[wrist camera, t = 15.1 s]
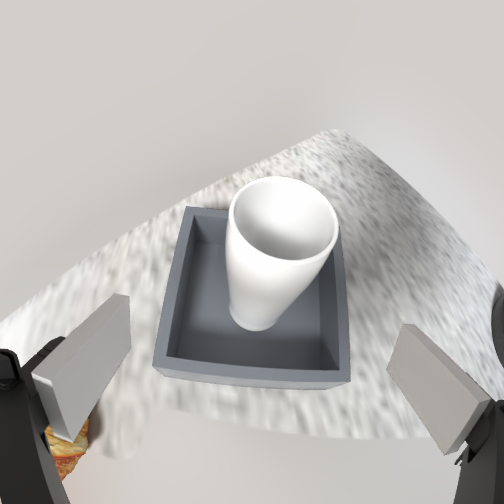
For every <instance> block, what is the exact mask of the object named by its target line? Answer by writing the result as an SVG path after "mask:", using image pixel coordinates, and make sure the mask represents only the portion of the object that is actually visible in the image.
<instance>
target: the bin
mask: <svg viewBox="0 0 504 504" xmlns="http://www.w3.org/2000/svg"><path fill="white" fill-rule="evenodd" d="M228 214H229V211H226V210H218V209H208V208H199V207H189V206H186V209H185V212H184V216H183V220H182V224H181V228H180V232H179V236H178V240H177V244H176V248H175V252H174V257H173V261H172V265H171V270H170V274H169V279H168V283H167V288H166V293H165V298H164V302H163V307H162V313H161V318H160V323H159V328H158V334H157V340H156V345H155V351H154V357H153V364H152V366H153V367H154V368H155V369H156V370H158V371H159V372H160V373H161V374H163V375H164V376H166V377H172V378H178V379H184V380H191V381H198V382H206V383H214V384H223V385H233V386H244V387H257V388H274V389H304V390H326V389H330V388H333V387H336V386H339V385H342V384H345V383H348V382H351V380H350V342H349V322H348V307H347V293H346V282H345V271H344V261H343V252H342V243H341V235H340V227H339V232H338V237H337V240H336V243H335V245H334V247H333V248H332V251H331V252H330V254H329V256H328V258H327V260H326V262H325V263H324V265H323V267H322V268H321V270H320V271H319V273H318V274H317V276H316V277H315V278H314V280H313V281H312V282H311V284H310V285H309V286H308V287H307V288H306V289H305V290H304V291H303V293H302V294H301V295H300V296H299V297H298V298H297V299H296V300H295V301H294V302H293V303H292V304H291V305H290V306H289V308H288V309H287V310H286V311H285V312H284V313H283V314H282V315H281V316H280V318H279V320H278V321H277V322H276V323H275V324H274V325H273V326H272V327H270V328H268V329H266V330H263V331H250V330H246V329H244V328H242V327H241V326H239V325H238V324H237V323H236V322H235V321H234V320H233V318H232V316H231V314H230V311H229V290H228V280H227V270H226V259H225V237H226V227H227V220H228Z"/></svg>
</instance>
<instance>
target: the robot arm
mask: <svg viewBox="0 0 504 504" xmlns="http://www.w3.org/2000/svg"><path fill="white" fill-rule="evenodd" d="M492 332H493V339H494V344H495V348H496V351H497V354H498V357H499V359H500V362H501V364H502V366H503V367H504V294H503V295H502V296H500V297H499V298H498V300H497V301H496V303H495V306H494V309H493V315H492ZM130 349H131V332H130V305H129V296H125V295H119V294H113V295H112V296H111V297H110V298H109V299H108V300H107V301H106V302H104V303H103V304H102V305H101V306H100V307H99V308H98V309H97V310H96V311H95V312H93V313H92V314H91V315H90V316H89V317H88V318H87V319H86V320H85V321H84V322H83V323H82V324H80V325H79V326H78V327H77V328H76V329H75V330H74V331H73V332H72V333H71V334H70V335H69V336H68V337H67V338H65V337H62V336H60V337H58V338H55V339H53V340H51V341H49V342H48V343H47V344H46V345H45V346H44V347H43V349H41V350H40V351H39V352H37V355H36V354H35V355H34V356H33V357H32V358H31V359H30V360H29V361H28V362H27V363H26V364H25V365H24V366H23V367H22V368H21V367H20V364H19V360H18V357H17V354H15V353H14V352H13V351H11V350H8V349H0V498H1V502H2V504H70V502H69V500H68V497H67V495H66V492H65V490H64V487H63V484H62V482H61V479H60V476H59V474H58V471H57V468H56V465H55V462H54V459H53V455H52V452H51V449H50V445H49V442H48V438H47V436H46V433H45V430H46V428H47V427H48V425H49V424H50V427H51V429H52V431H53V434H54V435H55V436H57V437H59V438H62V439H64V440H66V441H69V442H71V443H73V442H74V440H75V438H76V437H77V435H78V433H79V431H80V430H81V428H82V426H83V425H84V423H85V421H86V420H87V418H88V416H89V415H90V413H91V411H92V410H93V408H94V406H95V405H96V403H97V401H98V400H99V398H100V396H101V395H102V393H103V392H104V390H105V388H106V387H107V385H108V384H109V382H110V380H111V379H112V377H113V376H114V374H115V372H116V371H117V369H118V368H119V366H120V365H121V363H122V362H123V360H124V358H125V357H126V355H127V354H128V352H129V351H130ZM386 370H387V371H388V373H389V374H390V376H391V377H392V378H393V380H394V381H395V383H396V384H397V386H398V387H399V388H400V390H401V391H402V393H403V394H404V396H405V397H406V399H407V400H408V402H409V403H410V405H411V406H412V408H413V409H414V410H415V412H416V413H417V415H418V416H419V418H420V419H421V421H422V422H423V424H424V425H425V427H426V428H427V430H428V432H429V433H430V435H431V436H432V438H433V439H434V441H435V442H436V444H437V445H438V447H439V448H440V450H441V452H442V453H443V454H444V455H447V454H450V453H453V452H456V451H458V449H459V448H460V446H461V445H462V444H463V442H464V441H466V442H467V444H468V446H467V447H466V448H465V450H464V451H463V452H462V454H461V455H460V456H459V458H458V459H457V460H456V462H455V465H457V463H458V462H459V461H460V460H462V463H461V464H460V466H461V472H460V477H459V481H458V486H457V491H456V495H455V499H454V503H453V504H504V400H498V401H497V402H495V401H494V400H493V399H492V398H491V397H490V396H489V395H488V394H487V393H486V392H485V391H484V390H483V389H482V388H481V387H480V386H479V385H478V384H477V383H476V382H475V381H474V380H473V379H472V378H471V377H470V376H469V375H468V374H467V373H466V372H464V371H463V370H462V369H461V368H460V367H459V366H458V365H457V364H456V363H455V362H454V361H453V360H452V359H451V358H450V357H449V356H448V355H447V354H446V353H445V352H444V351H443V350H442V349H440V348H439V347H438V346H437V345H436V344H435V343H434V342H433V341H432V340H431V339H430V338H429V337H428V336H426V335H425V334H424V333H423V332H422V331H421V330H420V329H419V328H418V327H417V326H416V325H414V324H403V325H402V328H401V331H400V334H399V337H398V340H397V342H396V345H395V348H394V351H393V354H392V356H391V359H390V362H389V364H388V367H387V369H386Z"/></svg>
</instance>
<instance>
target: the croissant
mask: <svg viewBox="0 0 504 504" xmlns="http://www.w3.org/2000/svg"><path fill="white" fill-rule="evenodd" d="M88 424H89V420H88V418H87V420H86V421H85V423H84V425H83V426H82V428H81V430H80V431H79V433H78V435H77V437H76V438H75V440H74V442H73V443H71V442H69V441H66V440H64V439H62V438H59V437H57V436H55V435H54V434H53V431H52V429H51V427H50V424H49V425H48V427H47V428H46V430H45V433H46V436H47V438H48V442H49V445H50V449H51V452H52V455H53V459H54V462H55V465H56V468H57V471H58V474H59V476H60V479H61V481H62V480H63V479H64V478H65V477H66V475H67V474H69V473H71V472H72V470H73V469H74V467H75V465H76V464H77V462H78V460H79V458H80V457H81V456H82V455H84V454H85V453H86V450H87V448H88V446H89V444H88V441H87V436H86V435H87V433H88Z"/></svg>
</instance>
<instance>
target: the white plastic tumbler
mask: <svg viewBox="0 0 504 504" xmlns="http://www.w3.org/2000/svg"><path fill="white" fill-rule="evenodd" d="M338 232H339V224H338V218H337V215H336V212H335V210H334V208H333V207H332V205H331V203H330V202H329V201H328V199H327V198H326V197H325V196H324V195H323V194H322V193H321V192H319V191H318V190H317V189H315V188H314V187H312V186H311V185H309V184H307V183H305V182H303V181H300V180H297V179H294V178H290V177H284V176H268V177H262V178H258V179H255V180H253V181H251V182H249V183H247V184H245V185H244V186H243V187H241V188H240V189H239V190H238V191H237V193H236V194H235V195H234V197H233V199H232V201H231V204H230V207H229V214H228V220H227V227H226V237H225V259H226V270H227V280H228V290H229V311H230V314H231V316H232V318H233V320H234V321H235V322H236V323H237V324H238V325H239V326H241V327H242V328H244V329H246V330H250V331H263V330H266V329H268V328H270V327H272V326H273V325H274V324H275V323H276V322H277V321H278V320H279V318H280V316H281V315H282V314H283V313H284V312H285V311H286V310H287V309H288V308H289V306H290V305H291V304H292V303H293V302H294V301H295V300H296V299H297V298H298V297H299V296H300V295H301V294H302V293H303V291H304V290H305V289H306V288H307V287H308V286H309V285H310V284H311V282H312V281H313V280H314V278H315V277H316V276H317V274H318V273H319V271H320V270H321V268H322V267H323V265H324V263H325V262H326V260H327V258H328V256H329V254H330V252H331V251H332V248H333V247H334V245H335V243H336V240H337V237H338Z"/></svg>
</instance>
